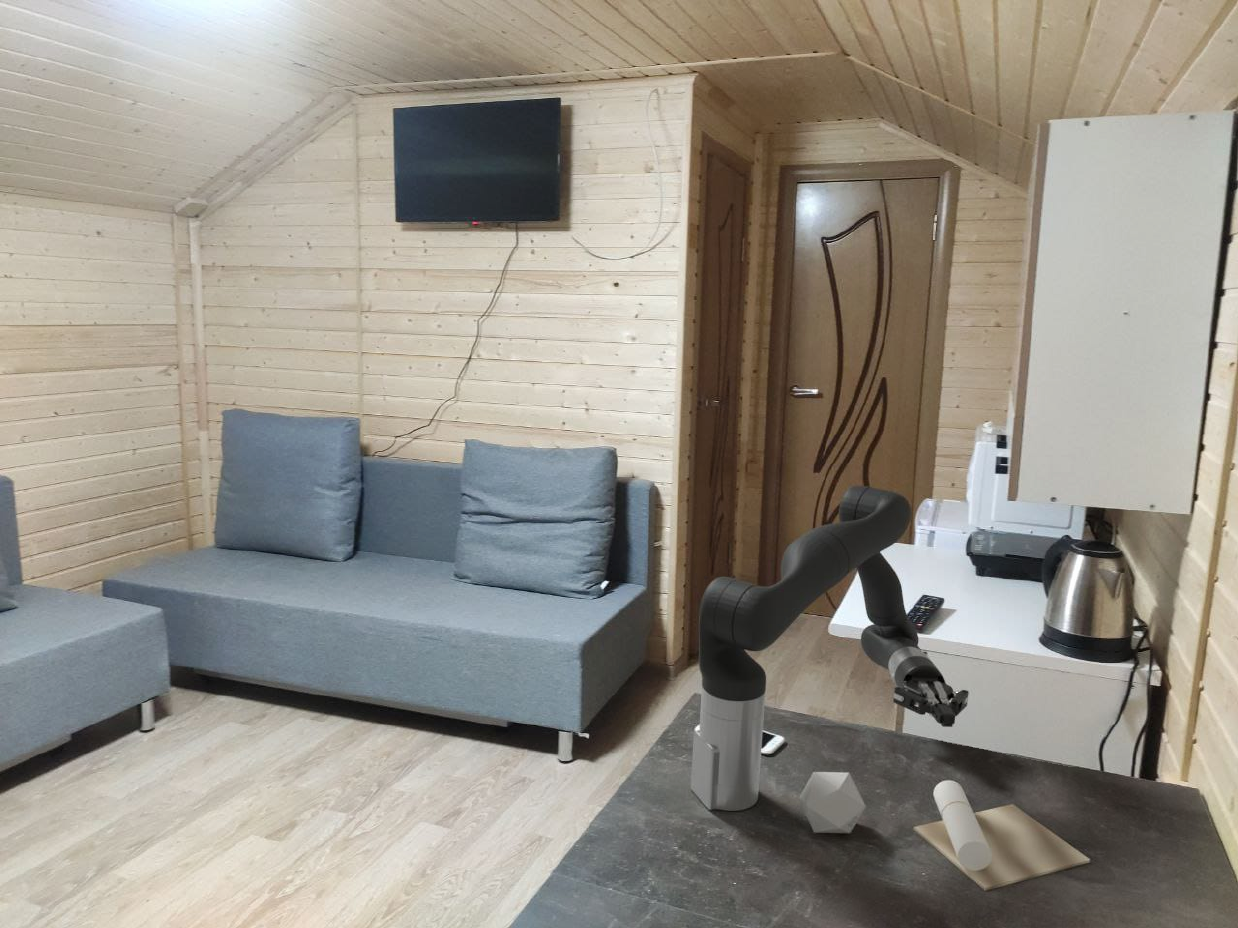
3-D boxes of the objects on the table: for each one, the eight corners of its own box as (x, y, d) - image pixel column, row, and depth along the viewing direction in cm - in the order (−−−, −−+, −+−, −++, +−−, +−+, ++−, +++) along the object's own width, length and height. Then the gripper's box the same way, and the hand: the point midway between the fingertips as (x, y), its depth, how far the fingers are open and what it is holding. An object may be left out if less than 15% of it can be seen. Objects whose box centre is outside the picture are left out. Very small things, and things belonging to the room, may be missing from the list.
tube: (940, 776, 136) (965, 836, 122) (968, 786, 136) (997, 848, 122) (928, 800, 137) (952, 863, 123) (956, 810, 137) (984, 875, 123)
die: (848, 857, 126) (884, 795, 128) (794, 821, 127) (830, 759, 128) (832, 842, 134) (866, 784, 136) (782, 808, 135) (816, 750, 136)
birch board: (985, 890, 119) (985, 887, 119) (913, 829, 132) (913, 826, 132) (1089, 861, 126) (1090, 859, 126) (1012, 806, 139) (1012, 803, 138)
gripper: (879, 653, 163) (909, 697, 146) (955, 656, 163) (993, 700, 146) (875, 693, 165) (904, 741, 148) (950, 696, 165) (987, 744, 148)
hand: (948, 721), depth 147 cm, fingers closed
